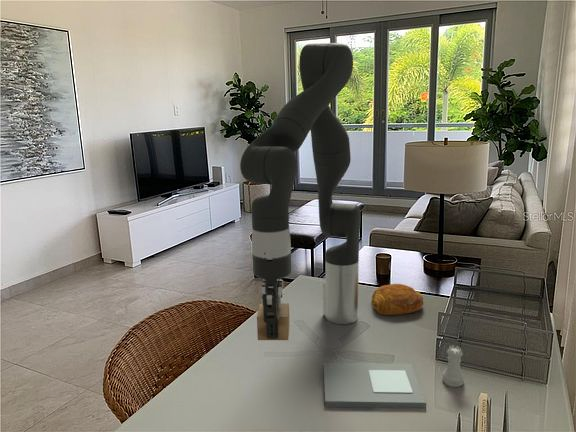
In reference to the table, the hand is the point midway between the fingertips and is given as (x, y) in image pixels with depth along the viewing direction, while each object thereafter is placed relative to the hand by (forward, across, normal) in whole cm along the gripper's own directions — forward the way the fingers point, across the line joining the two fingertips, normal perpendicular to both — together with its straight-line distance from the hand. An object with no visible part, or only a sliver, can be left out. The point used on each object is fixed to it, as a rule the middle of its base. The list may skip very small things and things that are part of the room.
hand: (274, 329), depth 91 cm
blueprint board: (+15, -4, +20) cm, 26 cm away
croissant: (+16, -44, +33) cm, 57 cm away
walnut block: (+1, 0, 0) cm, 1 cm away
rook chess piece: (+16, -6, +38) cm, 42 cm away
